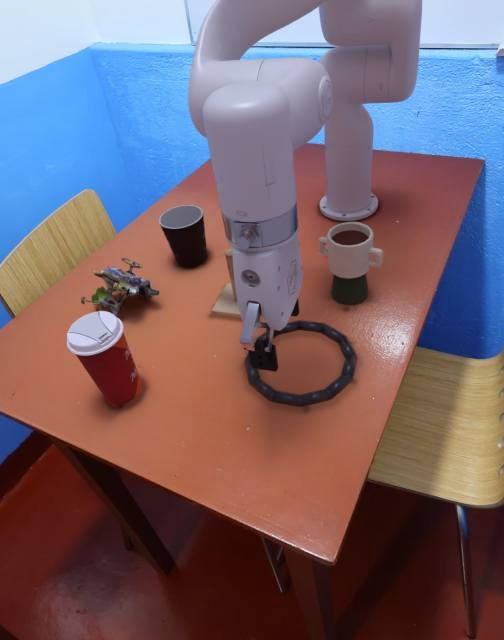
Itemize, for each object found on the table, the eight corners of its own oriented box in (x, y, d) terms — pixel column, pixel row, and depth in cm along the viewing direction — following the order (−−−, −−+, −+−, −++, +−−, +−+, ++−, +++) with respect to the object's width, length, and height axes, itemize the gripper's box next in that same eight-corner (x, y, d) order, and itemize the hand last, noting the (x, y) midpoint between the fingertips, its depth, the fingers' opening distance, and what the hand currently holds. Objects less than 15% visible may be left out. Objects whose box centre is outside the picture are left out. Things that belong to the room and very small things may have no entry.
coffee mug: (206, 272, 93) (195, 228, 86) (165, 271, 95) (152, 228, 88) (221, 239, 101) (212, 196, 94) (183, 238, 103) (172, 197, 96)
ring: (265, 321, 80) (263, 313, 79) (363, 334, 75) (364, 325, 74) (231, 397, 69) (229, 390, 68) (344, 419, 64) (344, 411, 62)
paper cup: (159, 388, 72) (131, 322, 63) (119, 422, 68) (82, 357, 59) (129, 366, 76) (99, 301, 67) (90, 396, 73) (52, 332, 63)
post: (228, 287, 88) (217, 236, 81) (268, 291, 86) (261, 239, 78) (212, 315, 83) (199, 264, 75) (255, 321, 80) (245, 268, 73)
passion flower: (151, 317, 93) (172, 279, 85) (113, 347, 85) (133, 309, 77) (108, 280, 93) (125, 239, 85) (67, 306, 85) (82, 264, 77)
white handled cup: (387, 293, 81) (392, 228, 72) (371, 318, 77) (375, 253, 68) (329, 278, 86) (327, 216, 77) (312, 301, 82) (308, 238, 73)
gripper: (271, 274, 40) (287, 398, 52) (316, 180, 52) (321, 299, 63) (192, 266, 43) (224, 387, 54) (252, 178, 54) (268, 293, 66)
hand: (276, 339), depth 59 cm, fingers open, 9 cm apart
